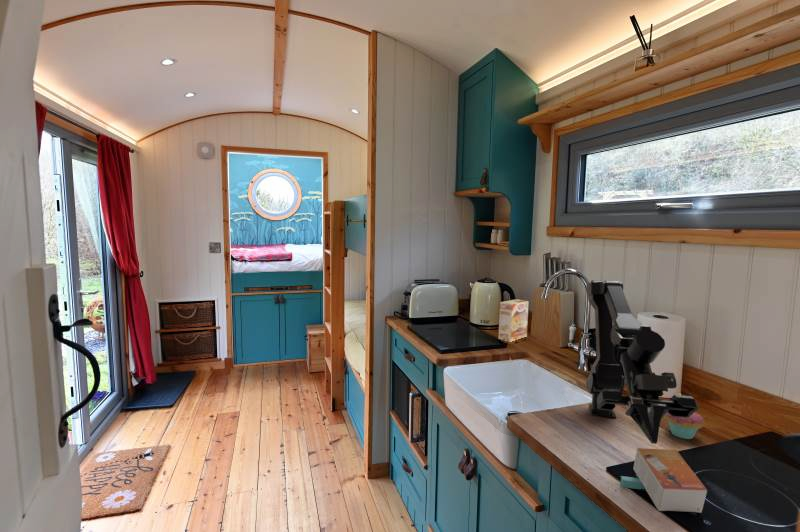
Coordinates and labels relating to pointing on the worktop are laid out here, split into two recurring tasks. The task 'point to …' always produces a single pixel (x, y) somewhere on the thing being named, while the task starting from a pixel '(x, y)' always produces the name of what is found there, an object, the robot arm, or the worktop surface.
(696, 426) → the cupcake
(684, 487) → the small box
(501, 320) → the coffeecake box
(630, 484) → the teal batten
